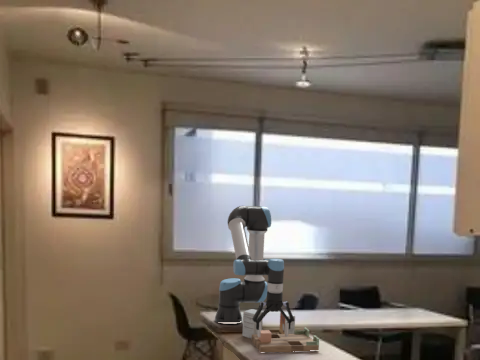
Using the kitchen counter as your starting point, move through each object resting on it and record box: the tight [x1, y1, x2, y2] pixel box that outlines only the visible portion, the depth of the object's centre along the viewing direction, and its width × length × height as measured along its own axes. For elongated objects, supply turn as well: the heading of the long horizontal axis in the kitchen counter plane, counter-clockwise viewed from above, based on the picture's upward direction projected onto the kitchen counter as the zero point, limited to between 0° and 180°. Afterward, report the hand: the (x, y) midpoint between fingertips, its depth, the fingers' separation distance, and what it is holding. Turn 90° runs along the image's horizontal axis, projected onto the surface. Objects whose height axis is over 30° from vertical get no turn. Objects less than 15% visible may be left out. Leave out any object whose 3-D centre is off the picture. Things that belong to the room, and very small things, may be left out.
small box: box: [278, 311, 296, 334], centre depth 255 cm, size 8×6×10 cm
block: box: [258, 329, 273, 342], centre depth 234 cm, size 5×5×4 cm
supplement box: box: [242, 308, 264, 340], centre depth 249 cm, size 7×7×13 cm
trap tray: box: [251, 327, 320, 353], centre depth 236 cm, size 18×28×6 cm, turn 102°
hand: (272, 336), depth 235 cm, fingers open, 13 cm apart
